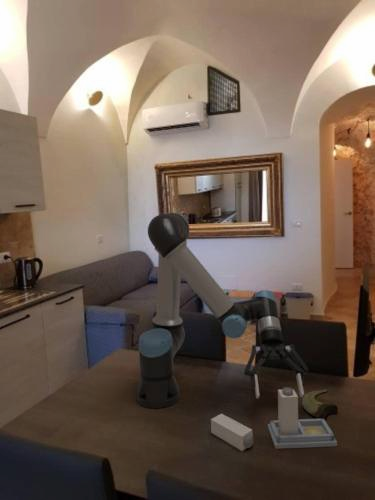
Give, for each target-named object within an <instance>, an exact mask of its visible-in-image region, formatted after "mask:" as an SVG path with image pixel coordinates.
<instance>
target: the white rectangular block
mask: <svg viewBox="0 0 375 500" xmlns="http://www.w3.org/2000/svg"><path fill="white" fill-rule="evenodd" d="M210 432H211V434H213V435H214V436H215V437H217V438H219V439H221V440H222V441H224V442H226V443H227V444H229V445H231V446H232V447H235V448H236V449H238V450H239V451H241V452H243V451H245V450H246V449H250V448H251V447H252V446H253V444H254V437H253V429H252V428H250V427H248V426H246V425H243V424H242V423H241V422H238V421H236V420H235V419H233V418H231V417H229V416H227V415H225V414H223V413H220V414H218V415H216V416H214V417H212V418H210Z"/></svg>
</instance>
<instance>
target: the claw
mask: <svg viewBox="0 0 375 500" xmlns="http://www.w3.org/2000/svg"><path fill="white" fill-rule="evenodd" d="M326 392H328V389H319V390H312V391H310V392H307V393H305V394H304V396H303V397H302V399H301V405H302V408H303V409H304V410H305V411H306V412H307V413H308V414H310V415H311V416H313V417H315V419H324V420H325V419H326V416H328V415H332V414H333V415H334V414H338V412H339V411H338V410H339V407H338V405H336V404H335V403H330V402H321V401H319V400H316V398H315V397H316V396H317V395H320V394H322V393H323V394H324V393H326Z"/></svg>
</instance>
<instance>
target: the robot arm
mask: <svg viewBox="0 0 375 500" xmlns="http://www.w3.org/2000/svg"><path fill="white" fill-rule="evenodd" d="M189 234H190V224H189V222H188V220H187V219H186V217H184V215H182V214H179V213H177V212H167V213H162V214H157V215H156V216H154V217H153V218H152V219H151V220H150V222H149V223H148V225H147V235H148V238H149V241H150V242H151V244H152V245H153V247H154V250H155V251H156V252H157V254H158V264H157V265H158V266H157V287H156V288H157V290H156V315H155V316H154V317H153V318H152V320H151V321H152V322H151V324H152V326H151V327H152V328H151V329H149V330H146V331H144V332H142V333H141V334H140V336H139V338H138V353H139V355H138V356H139V369H140V380H139V384H138V387H137V391H136V401H137V403H138V404H139V405H140V406H143V407H145V408H149V409H161V408H167V407H169V406H172V405H174V404H175V403H177V402H178V400H180V397H181V395H180V394H181V393H180V392H181V391H180V387H179V385H178V383H177V380H176V377H175V374H174V357H175V355H176V354H177V352H178V351H179V350H180V349H181V348H182V345H183V344H184V341H185V334H186V333H185V328H184V326H183V325H184V323H183V322H184V321H183V318H182V317H181V316H180V305H181V304H180V302H181V301H180V299H181V279H182V278H183V279H184V280H185V281H186V283H187V284H188V285H189V286H190V288H191V289H192V290H193V291H194V293H195V294H196V295H197V296H198V298H199V299H201V301H202V302H203V303H204V305H205V306H206V307H207V309H208V310H209V311H210V312H211V314H212V315H213V316H214V317H215V318H216V319H217V321H218V322H219V324H221V328H222V329H221V330H222V332H223V334H224V335H225V336H226V337H227V338H230V339H239V338H241V337H242V336H243V335H244V333H245V332H246V330H247V327H248V326H247V325H248V322H254V321H257V326H258V327H257V329H258V334H259V335H258V337H259V342H260V346H256V344H255V345H254V344H253V345H252V347H251V354H250V356H249V359H248V361H247V364H246V366H245V369H244V372H243V374H244V375H245V376H249V378H250V385H251V387H252V388H253V387H254V391H255V398H256V399H259V398H260V389H259V388H260V387H259V381H258V374H256V373H257V372H258V371H259V369H260V368H261V367H262V365H263V364H264V363H265V362H266V360H269V361H273V360H274V361H279V360H281V361H282V362H284V364H286V365H287V366H288V367H289V368H291V370H293V371H294V372H295V373H296V383H297V388H298V393H299V397H300V398H303V397H304V396H305V391H304V387H303V386H305V385H306V380H305V375H306V374H307V373H308V372H309V367H308V366H307V365H306V363H305V362H304V361H303V359H302V358H301V357H300V355H299V354H298V352H297V351H296V349H295V345H294V344H293V343H290V345H285V344H284V340H283V334H282V328H281V322H280V319H279V318H280V317H279V310H278V304H277V300H276V296H275V294H274V292H272V291H271V290H268V289H260V290H259V291H256V292H255V293H254V296H253V298H251V299H247V300H242V301H241V300H240V301H237V302H235V301H232V299H231V298H230V297H229V296H228V295H227V293H226V292H225V291H224V290H223V288H222V287H221V286H220V284H219V283H217V281H216V280H215V279H214V277H212V274H210V272H209V271H208V270H207V269H206V268H205V267H204V265H203V264H202V263H201V261H200V260H199V259H198V257H196V255H195V254H194V253H193V252H192V250H191V249H190V247H188V245H187V243H188V242H187V239H188V238H189V236H190V235H189ZM286 351H287V353H289V354H290V355H291V357H292V358H293V360H292V359H291V358H290V357H289V356H288V354H287V353H286ZM259 352H260V353H261V354H262V356H261V357H260V359H258V361H257V362H256V364H255V365H254V367H253V368H252V369H251V367H252V364H253V362H254V359H255V357H256V354H258V353H259ZM294 361H295V362H294Z"/></svg>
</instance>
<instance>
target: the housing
mask: <svg viewBox="0 0 375 500" xmlns="http://www.w3.org/2000/svg"><path fill="white" fill-rule="evenodd" d="M267 429H268V432H269V434H270V437H271V439H272V443H273V445H274V448H275V450H277V449H300V448H301V449H302V448H304V449H305V448H325V447H326V448H327V447H338V441H337V439H336V437H335V435H334V432H333V431H332V429H331V427H330V426H329V425H328V423H327V421H326V420H325V419H318V418H307V419H306V418H304V419H302V418H301V419H298V435H282V436H281V433H280V431H279V428H278V419H277V420H276V419H275V420H270V421H269V423H267Z"/></svg>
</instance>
